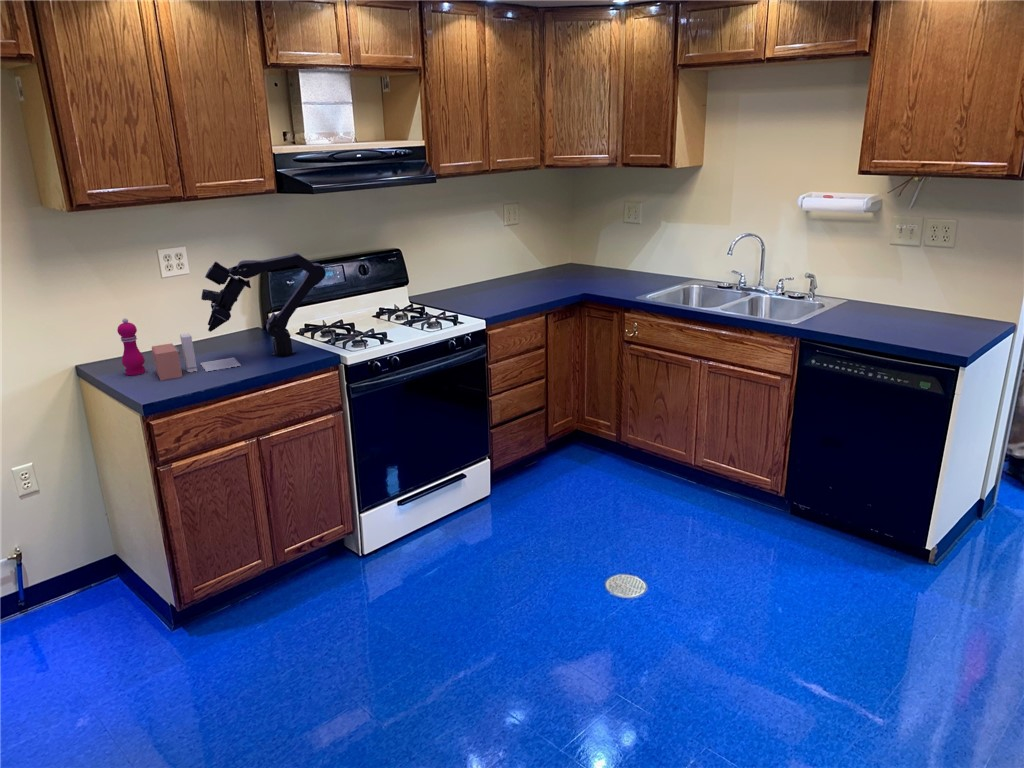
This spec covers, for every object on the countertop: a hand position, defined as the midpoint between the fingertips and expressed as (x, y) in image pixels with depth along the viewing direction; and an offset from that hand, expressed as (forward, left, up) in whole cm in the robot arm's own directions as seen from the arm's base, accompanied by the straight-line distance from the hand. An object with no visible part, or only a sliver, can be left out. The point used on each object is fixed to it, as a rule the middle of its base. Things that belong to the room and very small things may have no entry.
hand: (209, 328), depth 266 cm
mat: (-4, +1, -13) cm, 14 cm away
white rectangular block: (+1, +10, -13) cm, 16 cm away
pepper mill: (+17, +21, -14) cm, 30 cm away
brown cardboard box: (+4, +16, -13) cm, 21 cm away
